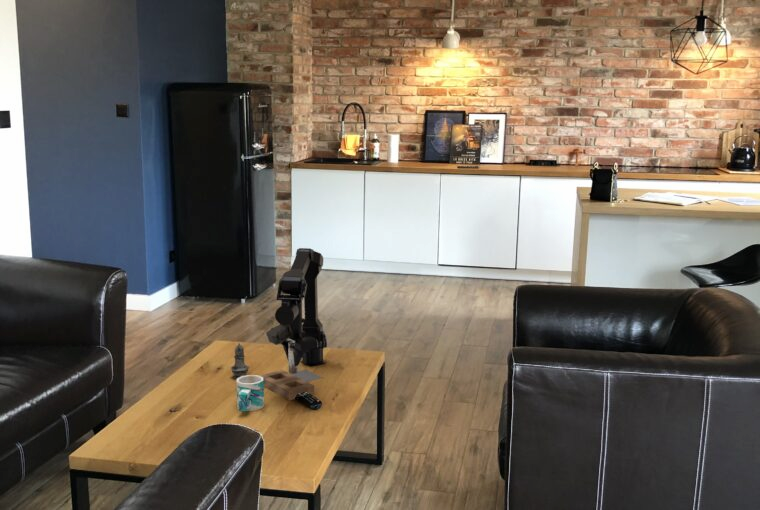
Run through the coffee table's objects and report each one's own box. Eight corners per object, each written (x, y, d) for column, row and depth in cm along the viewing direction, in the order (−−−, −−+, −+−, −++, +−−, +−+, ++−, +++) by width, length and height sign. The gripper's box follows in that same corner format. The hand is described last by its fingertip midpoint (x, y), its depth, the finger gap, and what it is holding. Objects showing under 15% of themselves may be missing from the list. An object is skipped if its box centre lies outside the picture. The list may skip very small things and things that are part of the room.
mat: (305, 370, 273) (305, 369, 273) (322, 378, 266) (322, 377, 266) (280, 376, 267) (280, 375, 267) (297, 385, 260) (297, 384, 260)
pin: (294, 369, 253) (294, 340, 251) (300, 372, 251) (299, 342, 249) (286, 371, 251) (286, 342, 249) (292, 374, 249) (291, 344, 247)
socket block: (258, 384, 260) (258, 375, 259) (282, 378, 265) (282, 369, 265) (289, 401, 246) (289, 391, 246) (314, 394, 252) (313, 385, 251)
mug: (267, 401, 246) (266, 375, 244) (256, 416, 234) (256, 389, 233) (241, 400, 247) (240, 373, 245) (229, 415, 235) (228, 388, 234)
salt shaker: (251, 375, 268) (250, 340, 266) (246, 381, 262) (245, 346, 260) (233, 374, 269) (232, 339, 266) (228, 380, 263) (227, 345, 261)
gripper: (253, 313, 249) (255, 362, 253) (287, 327, 235) (288, 378, 239) (284, 307, 256) (285, 354, 260) (318, 320, 242) (319, 370, 246)
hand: (293, 364), depth 251 cm, fingers closed on pin, 3 cm apart
